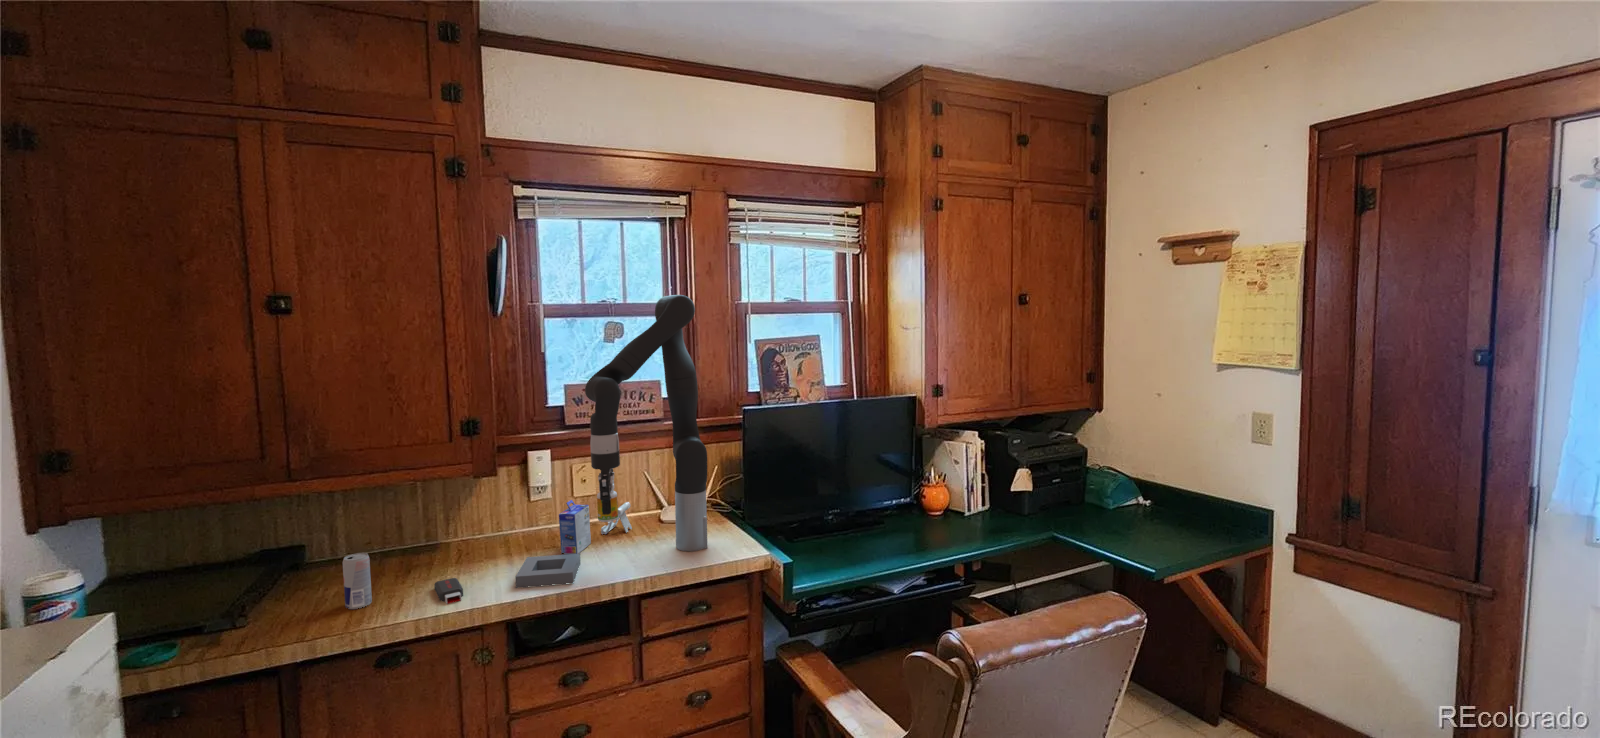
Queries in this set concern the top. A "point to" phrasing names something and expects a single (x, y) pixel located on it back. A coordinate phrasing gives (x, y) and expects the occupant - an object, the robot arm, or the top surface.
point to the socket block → (548, 570)
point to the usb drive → (449, 590)
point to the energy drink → (357, 580)
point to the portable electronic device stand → (622, 517)
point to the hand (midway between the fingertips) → (607, 510)
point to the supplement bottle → (614, 508)
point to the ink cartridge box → (574, 528)
